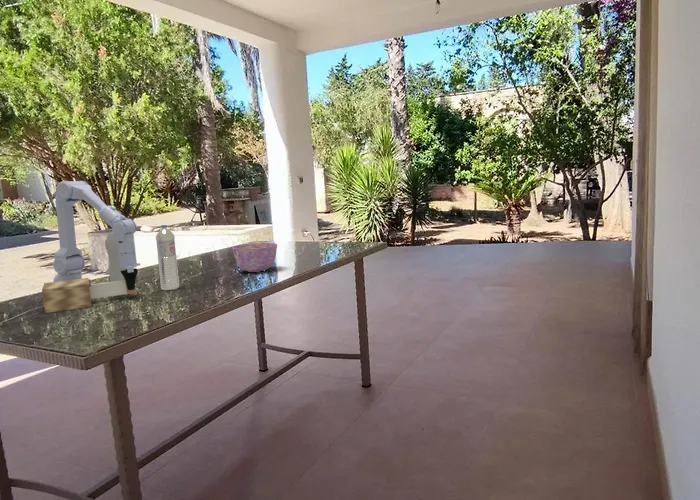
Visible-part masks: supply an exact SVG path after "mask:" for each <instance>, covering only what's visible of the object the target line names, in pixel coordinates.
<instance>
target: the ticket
mask: <svg viewBox="0 0 700 500" xmlns="http://www.w3.org/2000/svg"><path fill="white" fill-rule="evenodd" d="M89 288H90V296H91V300H93V299H100V298H107V297H116V296H122V295H129V294H136V291H137V290H136V288H135V289H134V290H128V288H127V285H126V281H125V280H122V281H114V282H110V281H107V282H98V283H91V287H89Z"/></svg>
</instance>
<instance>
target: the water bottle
mask: <svg viewBox="0 0 700 500" xmlns="http://www.w3.org/2000/svg"><path fill="white" fill-rule="evenodd" d="M175 239H176V238H175V234H174V233H173V232H172V231H171V230H169V229H168V228H167V224H163V225H162V224H161V229H160V230H159V231H158V232H157V233H156V235H155V241H156V249H157V261H158V272H159V279H160V281H159V282H160V289H161V291H174V290H178V289H180V277H179V270H178V259H177V258H178V257H177V251H176V241H175Z"/></svg>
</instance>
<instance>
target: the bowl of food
mask: <svg viewBox="0 0 700 500" xmlns="http://www.w3.org/2000/svg"><path fill="white" fill-rule="evenodd" d="M231 250H232V252H233V256H234V259H235V261H236V264H237V266H238V268H239V269H241V270H243V271H244V272H245V271H246V272H247V271H248V272H260V271H264V270H266V271H267V270H268V269H270V268H271V267H272V266H273V265H274V264H275V261H276V258H277V257H276V255H277V250H278V244H277V243H275V242H257V243H246V244H238V245H235V246H232V247H231ZM248 272H247V273H248ZM264 272H265V271H264ZM260 273H261V272H260Z"/></svg>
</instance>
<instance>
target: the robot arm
mask: <svg viewBox="0 0 700 500" xmlns="http://www.w3.org/2000/svg"><path fill="white" fill-rule="evenodd" d="M81 200H82V201H85V202H86V203H87V204H88V205H89V206H91V207H92V208H94V209H95V210H96V211H97V212H98V213H99V218H100V219H102V221H104V222H105V223H106V224H107V225H108V226H109V227H111V232H113V234H114V235H115V237H116V240H117V244H118V253H119V262H120V266H119V267H120V268H123V269H125V270H122V271H120V272H121V273H122V275H123V276H124V279H125V281H126V285H127V288H128V290H134V289H135V290H136V280H137V275H138V272H139V270H138V269H137V267H139V266H141V262H137V254H136V245H135V236H134V234H135V233H136V231H137V224H136V222H135V221H134V220H133V219H132V218H127V217H126V216H125V215H124V214H121V213H120V212H119V210H117V207H115V206H113V205H107V204H106V203H105V202H104V201H103V200H102V199H101V198H100V197H99V196H98V195H97V194H96V193H95V192H94V191H93V190H92V185H90V184H88V182H87V181H84V180H76V181H71V180H69V181H65V180H64V181H63V180H62V181H60V182H59V183H58V184H57V185H56V186H55V212H56V220H57V231H58V240H59V249H58V250H57V251H56V252H55V254H54V259H53V263H52V264H53V270H54V271H55V272H56V274H55V275H54V278H53V281H52V282H58V281H67V280H75V279H83V278H82V277H83V275H82V272H83V269H84V268H85V266H86V261H85V258H84V257H83V252H82V250H81V249H79V247H77V237H76V229H75V220H74V218H75V217H74V209H73V208H74V206H75V204H77V202H79V201H81Z"/></svg>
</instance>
